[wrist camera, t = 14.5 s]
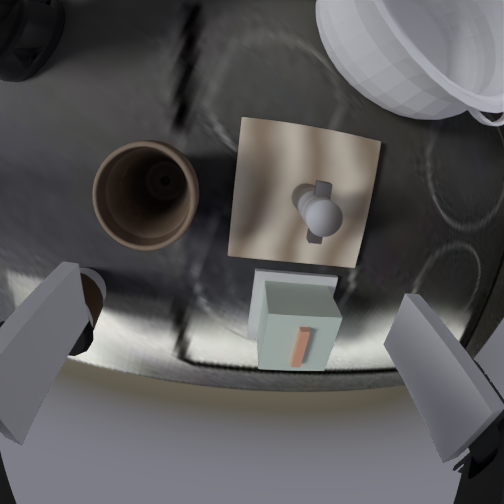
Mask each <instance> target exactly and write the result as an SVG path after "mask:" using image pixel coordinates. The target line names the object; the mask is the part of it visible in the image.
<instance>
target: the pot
mask: <svg viewBox="0 0 504 504" xmlns="http://www.w3.org/2000/svg"><path fill="white" fill-rule="evenodd" d="M316 22H317V25H318V29H319V33H320V37H321V41H322V43H323V45H324V47H325V50H326V52H327V54H328V56H329V58H330V59H331V61H332V62H333V64H334V65H335V67H336V68H337V70H338V71H339V72H340V73H341V75H342V76H343V77H344V78H345V79H346V80H347V81H348V82H349V84H350V85H351V86H353V87H354V88H355V89H356V90H357V91H359V92H360V93H361V94H362V95H363V96H365V97H366V98H368V99H369V100H371V101H373V102H374V103H376V104H377V105H379V106H381V107H382V108H384V109H386V110H388V111H391V112H393V113H395V114H398V115H400V116H405V117H409V118H414V119H424V120H440V119H444V118H448V117H452V116H455V115H458V114H461V113H463V112H464V111H466V110H468V111H469V112H470V113H471V115H472V116H473V117H474V118H475V119H477V120H478V121H479V122H480V123H482V124H486V125H489V126H501V125H503V124H504V0H317V1H316ZM479 111H483V112H491V113H499V112H503V115H502V116H501V118H500V119H498V120H497V121H495V122H491V121H490V120H488V119H487V118H486V117H485V116H483V115H482V114H481V113H480V112H479Z"/></svg>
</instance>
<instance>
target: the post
mask: <svg viewBox="0 0 504 504" xmlns="http://www.w3.org/2000/svg"><path fill="white" fill-rule="evenodd" d="M380 145H381V142H380V141H376V140H372V139H368V138H364V137H360V136H356V135H351V134H347V133H342V132H337V131H332V130H327V129H322V128H317V127H311V126H305V125H299V124H293V123H286V122H279V121H272V120H264V119H255V118H246V117H242V122H241V130H240V139H239V148H238V157H237V166H236V176H235V185H234V195H233V205H232V215H231V226H230V237H229V248H228V256H234V257H245V258H255V259H266V260H276V261H287V262H298V263H308V264H319V265H330V266H341V267H352V268H355V265H356V261H357V257H358V254H359V250H360V246H361V242H362V237H363V233H364V229H365V225H366V220H367V216H368V211H369V206H370V201H371V197H372V191H373V186H374V181H375V176H376V170H377V164H378V158H379V152H380Z"/></svg>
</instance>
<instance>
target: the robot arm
mask: <svg viewBox="0 0 504 504" xmlns="http://www.w3.org/2000/svg"><path fill="white" fill-rule="evenodd" d="M64 19H65V16H64V10H63V7H62V5H61V4H60V3H59V2H58V1H56V0H0V79H1V80H3V81H9V82H19V81H22V80H25V79H27V78H29V77H30V76H32V75H33V74H34V73H36V72H37V71H38V70H39V69H40V68H41V67H42V66H43V65H44V63H45V62H46V61H47V60H48V58H49V57H50V55H51V54H52V52H53V51H54V49H55V47H56V45H57V43H58V41H59V39H60V36H61V34H62V30H63V26H64ZM88 322H89V319H88V314H87V309H86V304H85V299H84V294H83V288H82V282H81V276H80V270H79V264H77V263H70V262H62V263H61V264H60V265H59V266H58V267H57V268H56V269H55V270H54V271H53V272H52V273H51V274H50V275H49V276H48V277H47V278H46V279H45V280H44V281H43V282H42V283H41V284H40V285H39V286H38V287H37V288H36V289H35V290H34V291H33V292H32V293H31V294H30V295H29V296H28V297H27V298H26V299H25V300H24V301H23V303H22V304H21V305H20V306H19V307H18V308H17V309H16V310H15V311H14V312H13V314H12V315H11V316H10V317H9V318H8V319H7V320H6V322H4V321H2V322H1V323H0V432H1V433H2V434H3V435H4V436H5V437H6V438H8V439H10V440H12V441H14V442H16V443H18V444H20V445H22V444H23V442H24V440H25V438H26V436H27V433H28V431H29V429H30V427H31V425H32V423H33V420H34V418H35V416H36V414H37V412H38V410H39V408H40V406H41V404H42V402H43V400H44V398H45V396H46V394H47V393H48V391H49V389H50V387H51V385H52V383H53V381H54V379H55V377H56V375H57V374H58V372H59V370H60V368H61V367H62V365H63V363H64V361H65V360H66V358H67V356H68V355H69V353H70V351H71V349H72V348H73V346H74V344H75V343H76V341H77V339H78V338H79V336H80V335H81V333H82V331H83V330H84V328H85V326H86V325H87V323H88ZM384 346H385V348H386V350H387V351H388V353H389V355H390V357H391V359H392V360H393V362H394V364H395V366H396V368H397V370H398V372H399V373H400V375H401V377H402V379H403V381H404V383H405V385H406V387H407V388H408V391H409V393H410V395H411V397H412V399H413V400H414V402H415V404H416V406H417V408H418V410H419V413H420V414H421V417H422V419H423V421H424V423H425V424H426V427H427V429H428V431H429V433H430V435H431V438H432V440H433V442H434V444H435V446H436V449H437V451H438V453H439V455H440V457H441V460H442V462H443V463H444V462H446V461H449V460H451V459H454V458H456V457H458V456H459V455H460V454H461V453H462V452H463V451H465V450H466V449H467V448H469V450H470V453H469V454H467V455H466V456H465V457H464V458H463V459H462V460H461V461H460V462H458V463H457V464H456V465H455V466H454V468H453V470H454V471H455V470H456V469H458V468H459V467H460V466H461V465H462V464H464V466H463V467H462V468H460V470H459V471H458V472H460V473H462V475H461V479H460V482H459V486H458V490H457V494H456V497H455V500H454V504H504V399H503V398H502V396H501V395H500V394H499V392H498V390H497V389H496V388H495V386H494V385H493V383H492V382H490V379H489V378H488V376H487V375H486V374H484V371H483V369H482V368H481V367H480V365H479V364H478V363H477V362H476V361H475V360H474V359H472V358H471V357H470V356H469V355H468V353H467V352H466V351H465V349H464V348H463V347H462V345H461V344H460V343H459V342H458V340H457V339H456V338H455V337H454V335H453V334H452V333H451V332H450V330H449V329H448V328H447V327H446V325H445V324H444V323H443V322H442V321H441V319H440V318H439V317H438V316H437V315H436V313H435V312H434V311H433V310H432V309H431V308H430V306H429V305H428V304H427V303H426V302H425V301H424V299H423V298H422V297H421V296H420V295H419V294H405V296H404V298H403V301H402V303H401V306H400V308H399V311H398V313H397V315H396V318H395V320H394V322H393V325H392V327H391V329H390V331H389V334H388V336H387V338H386V340H385V342H384ZM0 504H16V501H15V499H14V496H13V493H12V490H11V487H10V485H9V481H8V478H7V475H6V471H5V468H4V465H3V461H2V457H1V453H0Z"/></svg>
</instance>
